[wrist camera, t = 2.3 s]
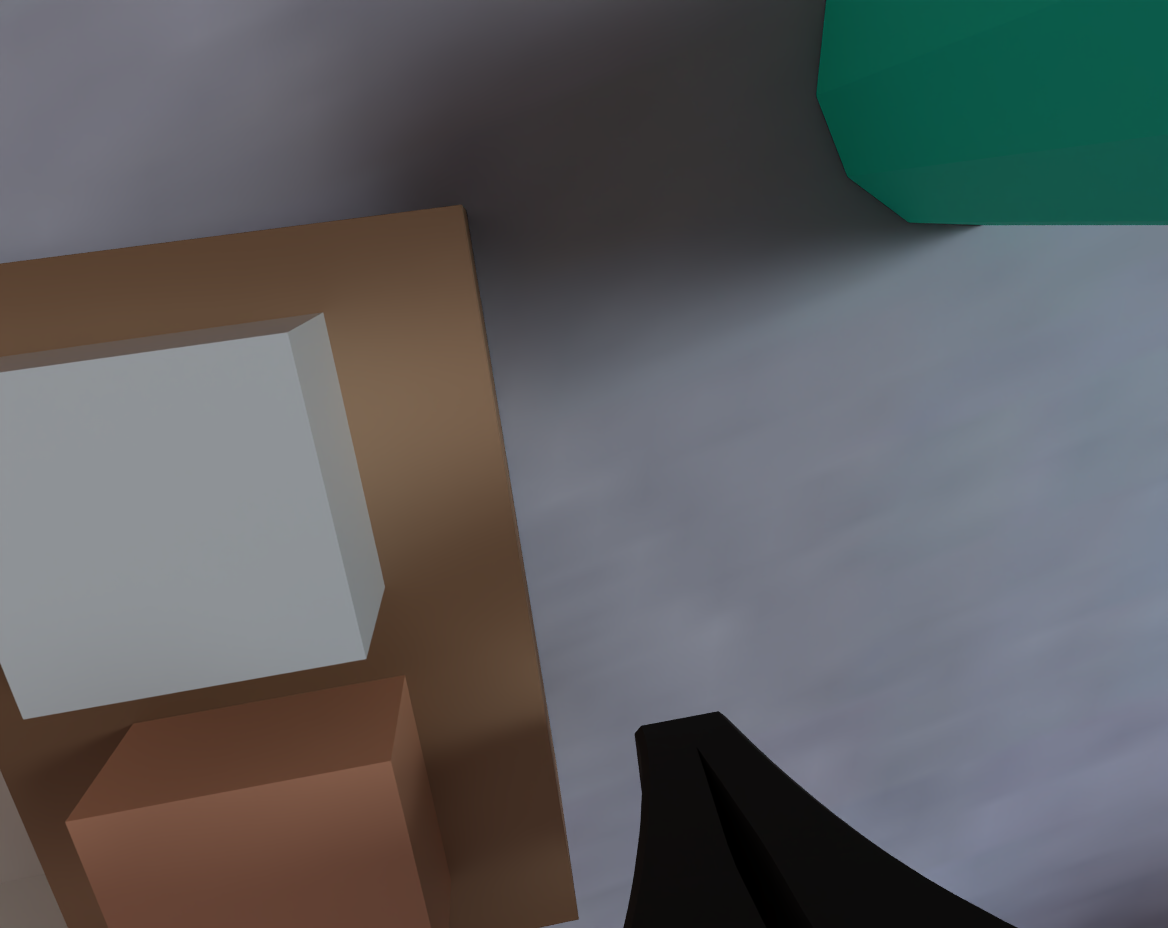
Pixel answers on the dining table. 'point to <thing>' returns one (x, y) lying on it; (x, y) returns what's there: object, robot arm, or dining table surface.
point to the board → (398, 519)
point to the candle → (1001, 108)
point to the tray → (22, 875)
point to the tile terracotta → (269, 818)
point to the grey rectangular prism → (179, 516)
